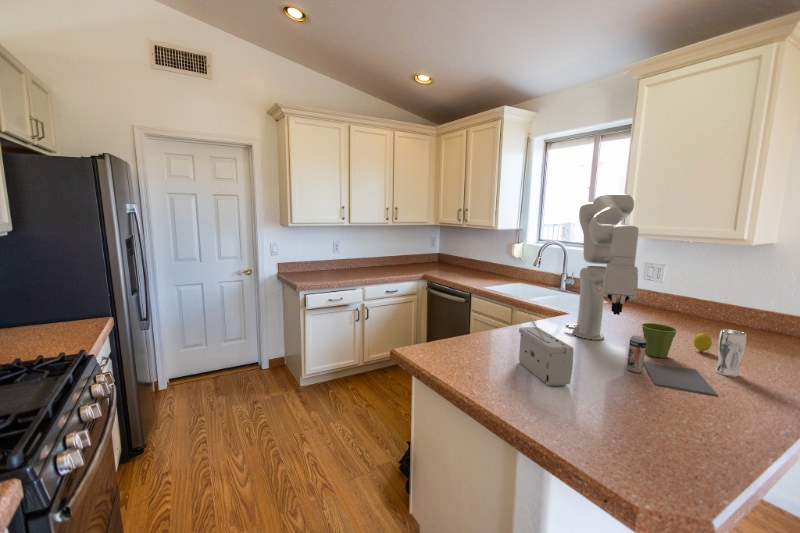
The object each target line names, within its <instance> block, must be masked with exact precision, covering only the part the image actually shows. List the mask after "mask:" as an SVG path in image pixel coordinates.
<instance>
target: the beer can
mask: <svg viewBox="0 0 800 533" xmlns="http://www.w3.org/2000/svg"><path fill="white" fill-rule="evenodd" d="M645 347H646V340H645V338H644V336H641V335H631V337H630V338H629V345H628V353H627V354H628V355H627V361H626V370H628V371H629V372H631V371H632V372H631V373H635V372H636V374H637V373H638V374H640V373H642V372H643V371H644V370H643V368H644V365H643V363H644V362H645V355H646V353H645Z"/></svg>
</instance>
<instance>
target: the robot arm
mask: <svg viewBox="0 0 800 533" xmlns="http://www.w3.org/2000/svg"><path fill="white" fill-rule="evenodd" d="M634 208H635V201H634V199H633V196H631V195H630V194H627V193H602V194H599V195H597V196H596V197H595V198H594V200H593V201H592V202H586V203H584V204H582V205H581V206H580V208H579V214H578V219H579V224H580V228H581V230H582V233H583V234H582V235H583V258H584V259H583V260H584V262H586V263H588V264H591V265H587V266H586V265H585V266H584V267H582V268H581V269H580V271H579V284H580V286H579V287H580V289H579V290H580V291H579V303H578V310H577V311H578V312H577V322H575V323H573V324H571V323H565V328H567V329H569V330H572V335H574V336H575V335H576V336H575V337H578V336H579V337H578V338H580V337H582V338H581V339H584V338H586V340H590V339H592V340H593V341H599V340H601V341H602V340H603V339H604V338H605V335H604V334H603V333H602V332H601V329H602V320H603V312H604V311H603V310H604V302H605V300H604V299H605V298H608V299H609V300H610V301H611V309H610V310H611V312H613V315H617V316H620V315H621V314H620V313H622V312H623V305H624V304H625V303H626V302H628V301H629V300H636V299H637V298H638V297H637V294H638V286H639V285H638V284H639V270H638V266H636V265H635V264H636V257H637V249H638V240H639V232H640V231H639V228H638V226H636V225H630V224H619V223H620V222H622V221H623V220H625V219H626V218H628V217H629V216H630V215H631V214H632V212H633V210H634ZM592 264H593V265H592ZM595 264H596V265H595ZM601 265H602V266H601ZM603 265H605V266H603ZM599 289H601V291H599ZM617 296H619V299H618V301H617ZM604 297H605V298H604ZM592 340H591V341H592Z"/></svg>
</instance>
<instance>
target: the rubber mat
mask: <svg viewBox="0 0 800 533" xmlns="http://www.w3.org/2000/svg"><path fill="white" fill-rule="evenodd" d="M643 368H644V369H645V371H646V372H647V375H648V376H649V378H650V379H651V381H652V383H653V385H654V386H658V387H663V388H664V387H665V388H670V389H676V390H682V391H686V392H693V393H698V394H704V395H709V396H715V397H718V396H719V394H718V393H717V392H716V390H714V388H713V387H712V386H711V385H710V384H709V383H708V382H707V380H705V378H704V377H703V376H702V375H701V374H700V373H699V372H698V371H697V369H693V368H688V367H681V366H675V365H668V364H663V363H658V362H650V361H649V362H648V361H644V363H643Z"/></svg>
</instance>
